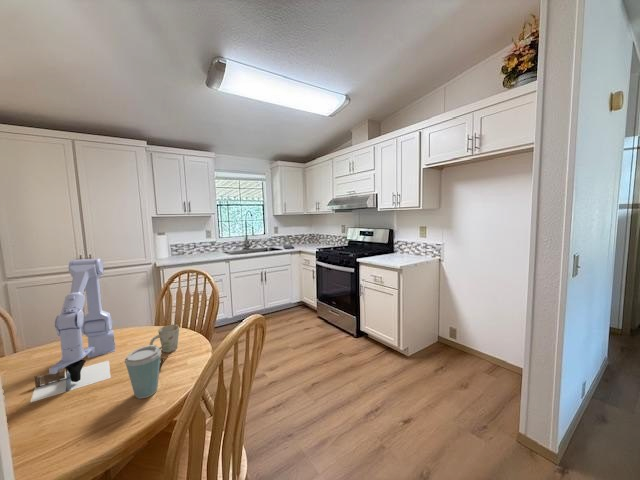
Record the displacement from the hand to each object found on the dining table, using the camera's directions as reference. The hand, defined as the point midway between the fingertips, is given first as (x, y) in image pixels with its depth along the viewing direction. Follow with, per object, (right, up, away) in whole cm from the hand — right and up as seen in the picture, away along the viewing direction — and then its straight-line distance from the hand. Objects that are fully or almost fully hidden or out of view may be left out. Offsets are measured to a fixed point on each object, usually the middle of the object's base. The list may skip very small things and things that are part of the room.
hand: (75, 380), depth 99 cm
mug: (+19, +1, +24) cm, 31 cm away
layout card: (-3, -1, +3) cm, 5 cm away
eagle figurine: (+22, -1, +10) cm, 24 cm away
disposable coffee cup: (+28, -2, -4) cm, 29 cm away
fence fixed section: (-9, -1, +1) cm, 9 cm away
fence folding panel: (-2, -1, -1) cm, 2 cm away
